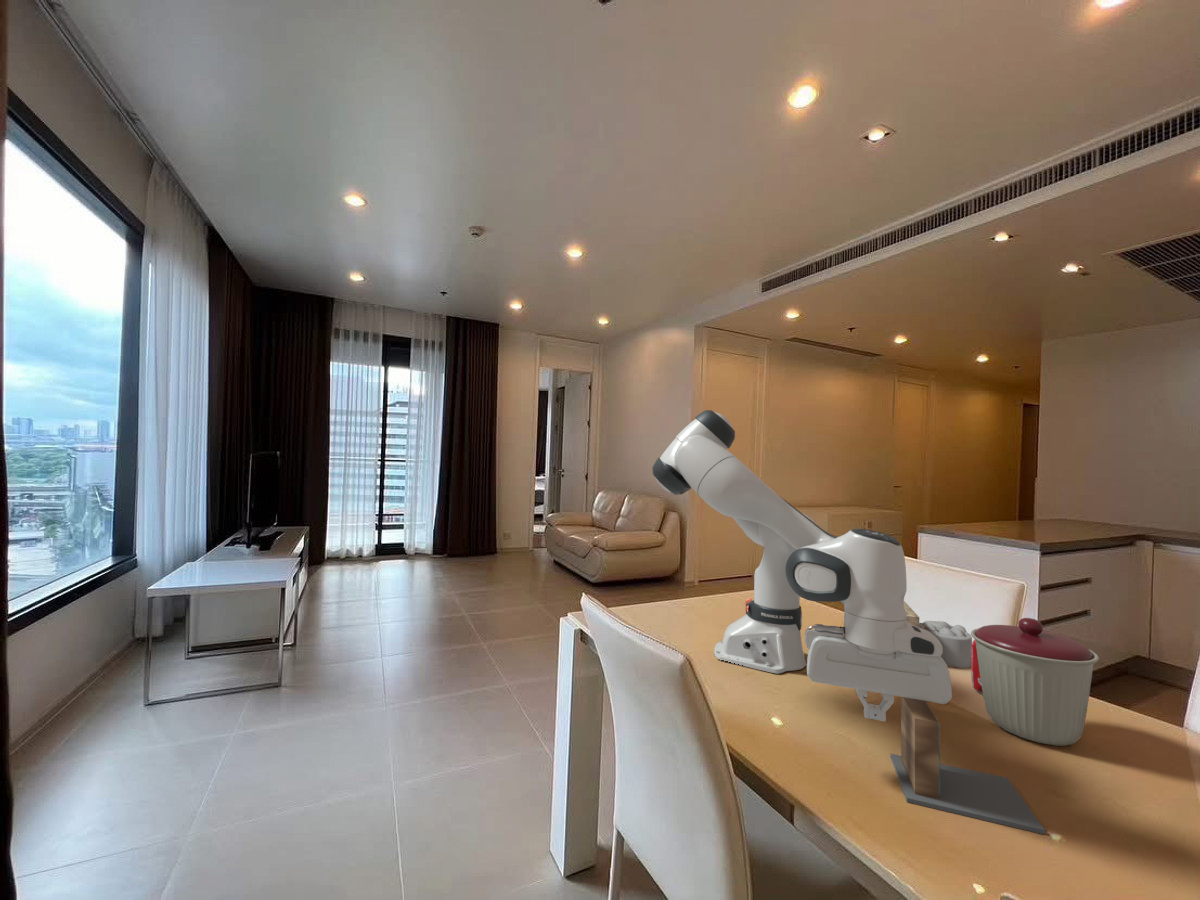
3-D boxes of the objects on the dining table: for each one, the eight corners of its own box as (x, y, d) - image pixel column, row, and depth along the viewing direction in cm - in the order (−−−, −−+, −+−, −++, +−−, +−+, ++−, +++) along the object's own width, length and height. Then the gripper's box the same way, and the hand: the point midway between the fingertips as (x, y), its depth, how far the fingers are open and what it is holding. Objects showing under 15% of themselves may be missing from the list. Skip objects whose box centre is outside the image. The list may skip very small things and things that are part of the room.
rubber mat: (906, 802, 70) (906, 797, 70) (890, 757, 81) (890, 753, 81) (1045, 834, 64) (1045, 830, 64) (1007, 781, 76) (1007, 777, 76)
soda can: (1020, 703, 102) (1019, 646, 103) (982, 699, 104) (982, 643, 104) (1000, 688, 109) (999, 635, 110) (964, 685, 111) (964, 632, 111)
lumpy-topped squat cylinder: (949, 649, 133) (949, 618, 134) (984, 669, 120) (984, 634, 121) (911, 648, 134) (911, 616, 134) (942, 667, 121) (941, 632, 121)
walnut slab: (914, 793, 71) (914, 718, 72) (901, 760, 80) (901, 692, 80) (940, 799, 70) (940, 722, 70) (924, 765, 78) (924, 696, 79)
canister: (1068, 769, 79) (1066, 640, 80) (951, 716, 96) (950, 609, 97) (1120, 746, 86) (1118, 628, 87) (1003, 701, 103) (1002, 602, 104)
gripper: (805, 627, 79) (805, 713, 78) (955, 647, 71) (955, 742, 71) (804, 617, 85) (803, 697, 84) (942, 634, 77) (943, 722, 77)
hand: (874, 718), depth 77 cm, fingers closed
